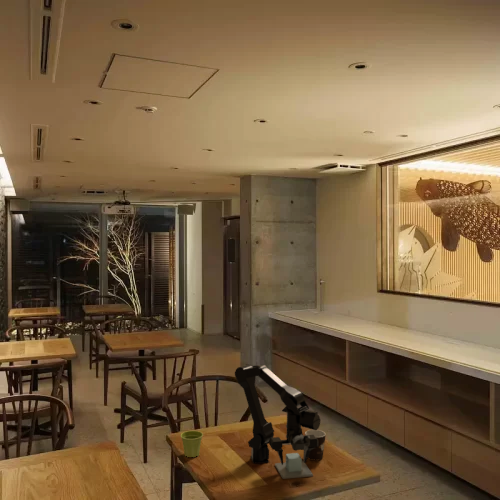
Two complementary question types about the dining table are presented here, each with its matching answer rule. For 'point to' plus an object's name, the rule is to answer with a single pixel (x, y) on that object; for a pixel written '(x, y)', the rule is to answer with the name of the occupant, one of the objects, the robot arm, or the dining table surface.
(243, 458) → the dining table surface
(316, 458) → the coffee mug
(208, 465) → the dining table surface
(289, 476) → the coaster
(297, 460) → the cube
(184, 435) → the plant pot
